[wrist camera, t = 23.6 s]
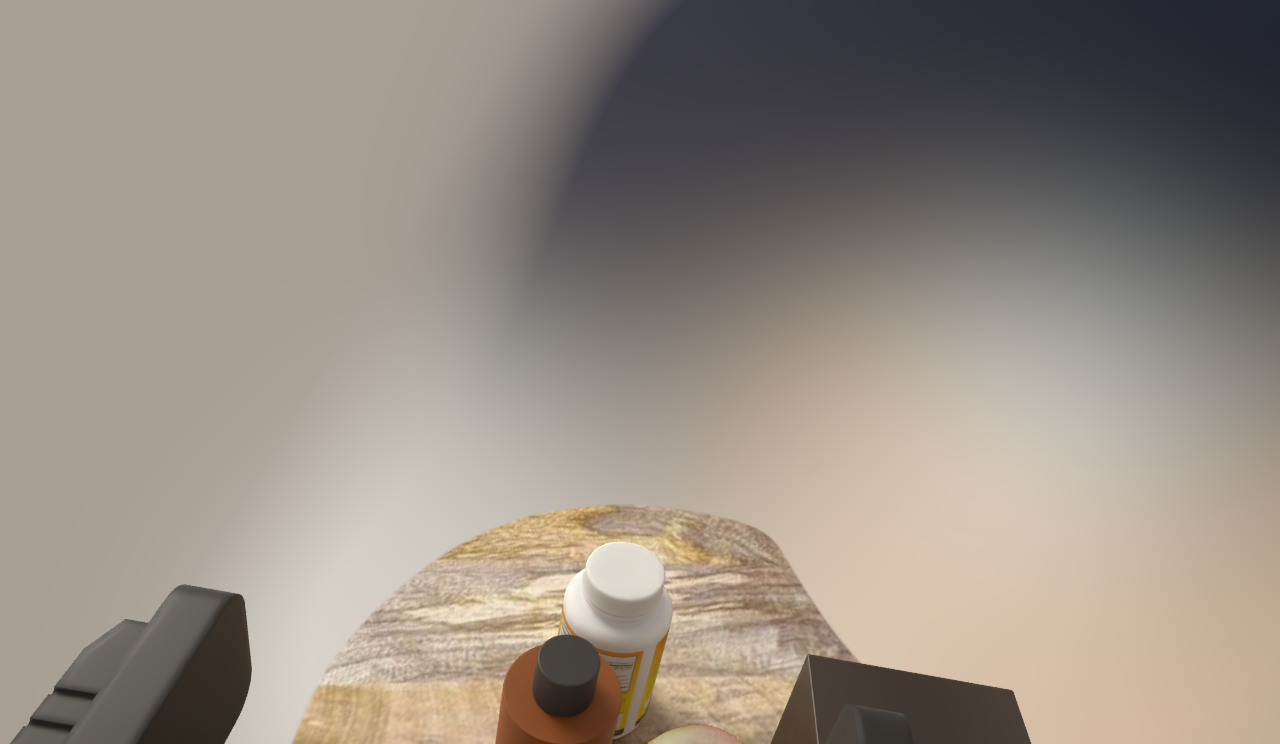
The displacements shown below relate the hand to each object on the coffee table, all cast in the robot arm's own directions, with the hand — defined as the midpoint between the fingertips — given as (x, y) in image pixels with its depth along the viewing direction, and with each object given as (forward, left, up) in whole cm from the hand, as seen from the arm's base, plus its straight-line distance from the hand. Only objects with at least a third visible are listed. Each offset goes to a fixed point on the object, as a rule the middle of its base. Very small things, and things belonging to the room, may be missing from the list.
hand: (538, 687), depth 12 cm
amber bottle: (0, +16, -31) cm, 35 cm away
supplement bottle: (+3, +23, -31) cm, 39 cm away
